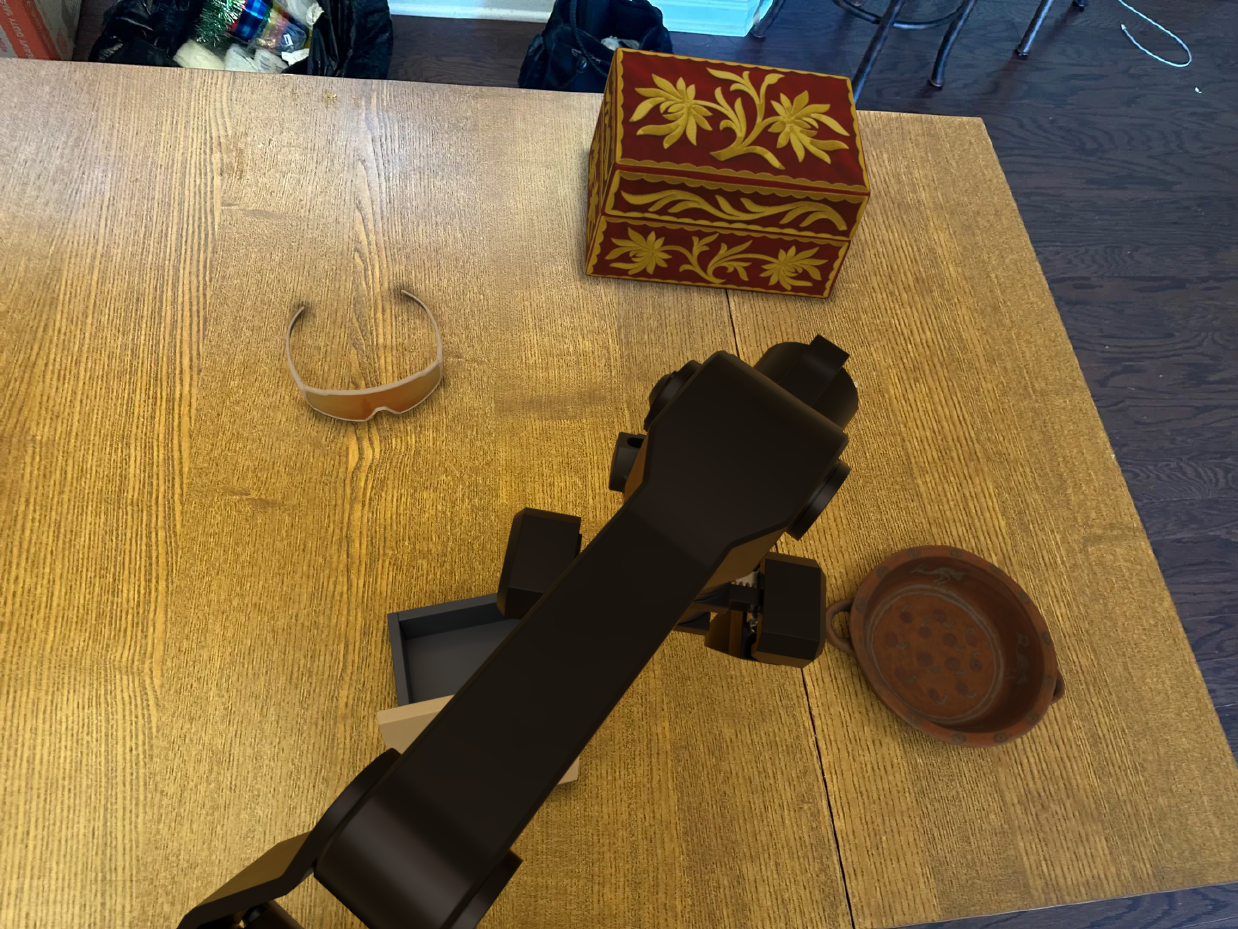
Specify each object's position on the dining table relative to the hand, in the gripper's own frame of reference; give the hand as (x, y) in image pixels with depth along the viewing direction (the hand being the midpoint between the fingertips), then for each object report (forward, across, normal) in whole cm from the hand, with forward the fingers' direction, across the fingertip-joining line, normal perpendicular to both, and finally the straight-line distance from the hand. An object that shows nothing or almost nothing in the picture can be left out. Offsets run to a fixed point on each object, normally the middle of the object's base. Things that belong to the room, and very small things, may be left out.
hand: (640, 627), depth 54 cm
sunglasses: (+16, +28, -27) cm, 42 cm away
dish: (+16, -28, -7) cm, 33 cm away
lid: (+2, +8, +9) cm, 12 cm away
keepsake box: (+16, +10, +4) cm, 19 cm away
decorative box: (+16, -4, -53) cm, 56 cm away
